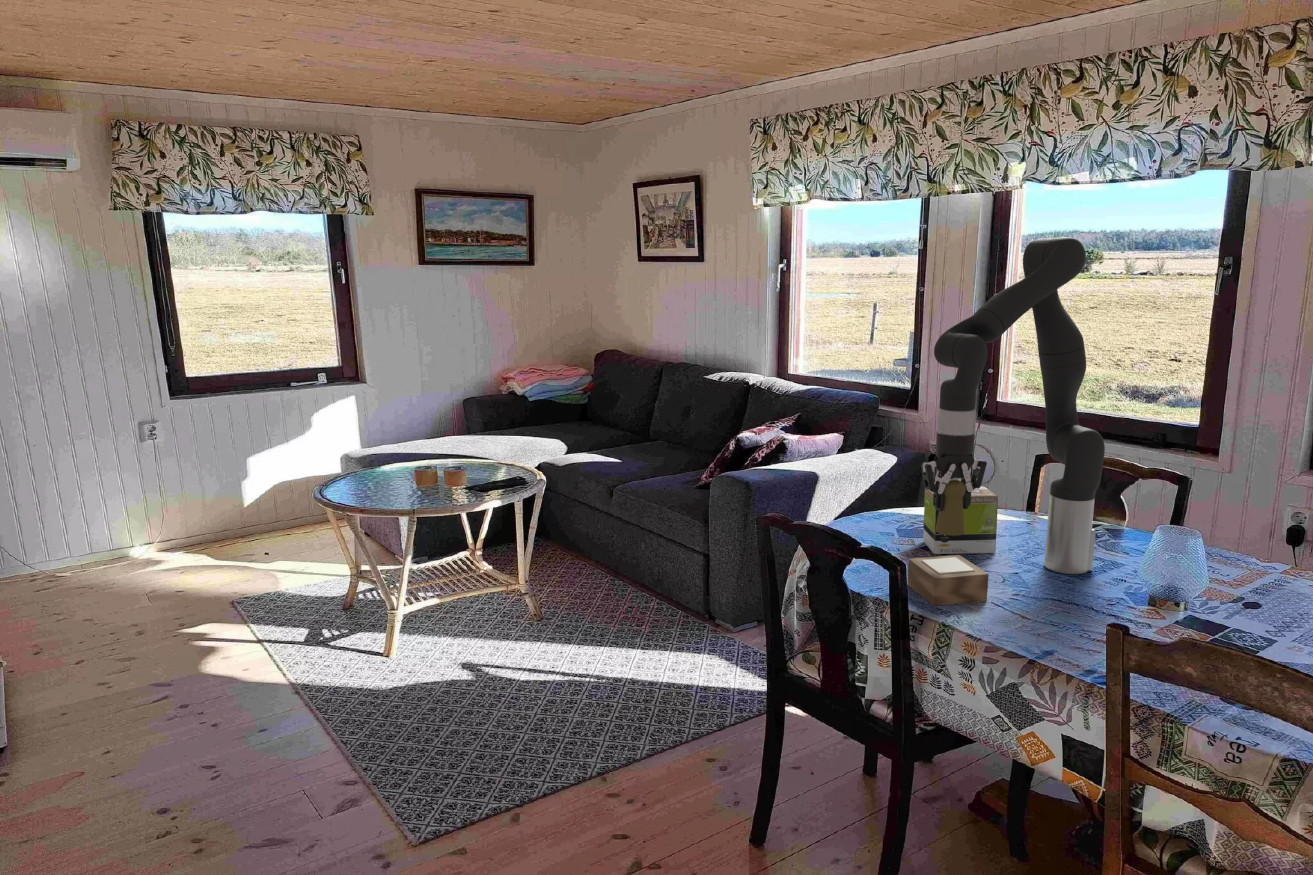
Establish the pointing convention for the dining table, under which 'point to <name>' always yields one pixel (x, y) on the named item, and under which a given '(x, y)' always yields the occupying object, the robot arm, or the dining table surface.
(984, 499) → the tea box
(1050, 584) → the dining table surface
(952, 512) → the cork
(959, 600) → the block
